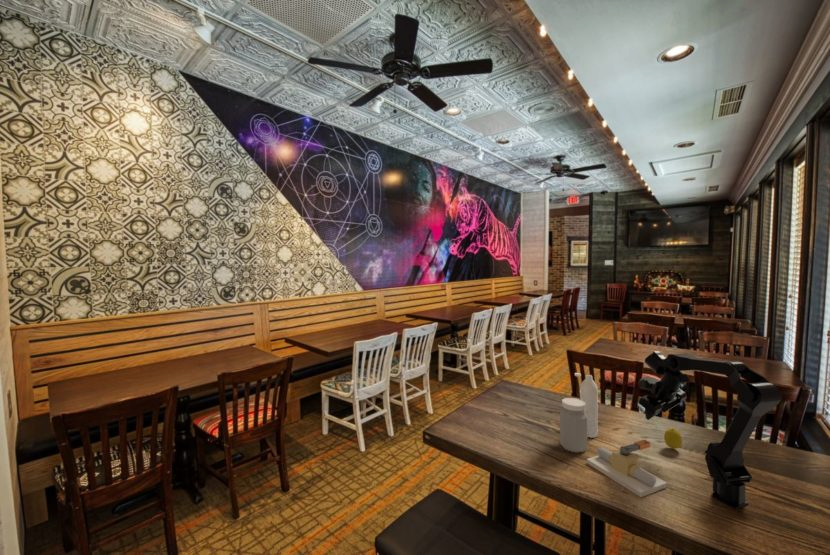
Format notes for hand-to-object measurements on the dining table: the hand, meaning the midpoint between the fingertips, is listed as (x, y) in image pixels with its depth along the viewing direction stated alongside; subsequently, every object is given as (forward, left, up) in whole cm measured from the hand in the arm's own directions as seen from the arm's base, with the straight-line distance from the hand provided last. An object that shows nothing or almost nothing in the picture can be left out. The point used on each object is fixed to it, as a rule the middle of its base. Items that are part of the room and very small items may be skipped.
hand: (655, 415), depth 133 cm
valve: (-6, +24, -14) cm, 28 cm away
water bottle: (+20, +13, -14) cm, 28 cm away
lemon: (-2, -7, -14) cm, 16 cm away
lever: (-6, +19, -6) cm, 21 cm away
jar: (+14, +26, -14) cm, 32 cm away
